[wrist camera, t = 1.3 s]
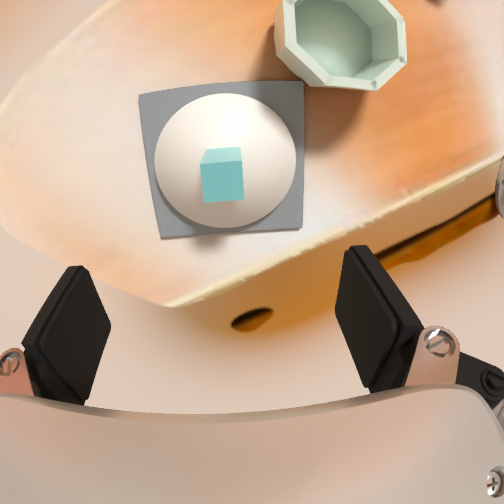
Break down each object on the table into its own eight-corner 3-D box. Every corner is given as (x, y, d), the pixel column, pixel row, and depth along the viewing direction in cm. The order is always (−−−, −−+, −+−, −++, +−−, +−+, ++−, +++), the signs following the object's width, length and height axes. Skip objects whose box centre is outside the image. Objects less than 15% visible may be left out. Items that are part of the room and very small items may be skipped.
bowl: (371, 5, 18) (401, -9, 13) (375, 92, 23) (407, 96, 18) (270, -8, 17) (280, -32, 12) (275, 86, 23) (286, 84, 18)
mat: (302, 81, 23) (303, 81, 22) (301, 225, 30) (302, 227, 30) (140, 94, 22) (138, 94, 22) (161, 235, 30) (160, 237, 30)
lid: (293, 91, 23) (311, 90, 17) (293, 219, 29) (307, 252, 24) (149, 103, 22) (124, 107, 17) (168, 228, 29) (154, 263, 24)
